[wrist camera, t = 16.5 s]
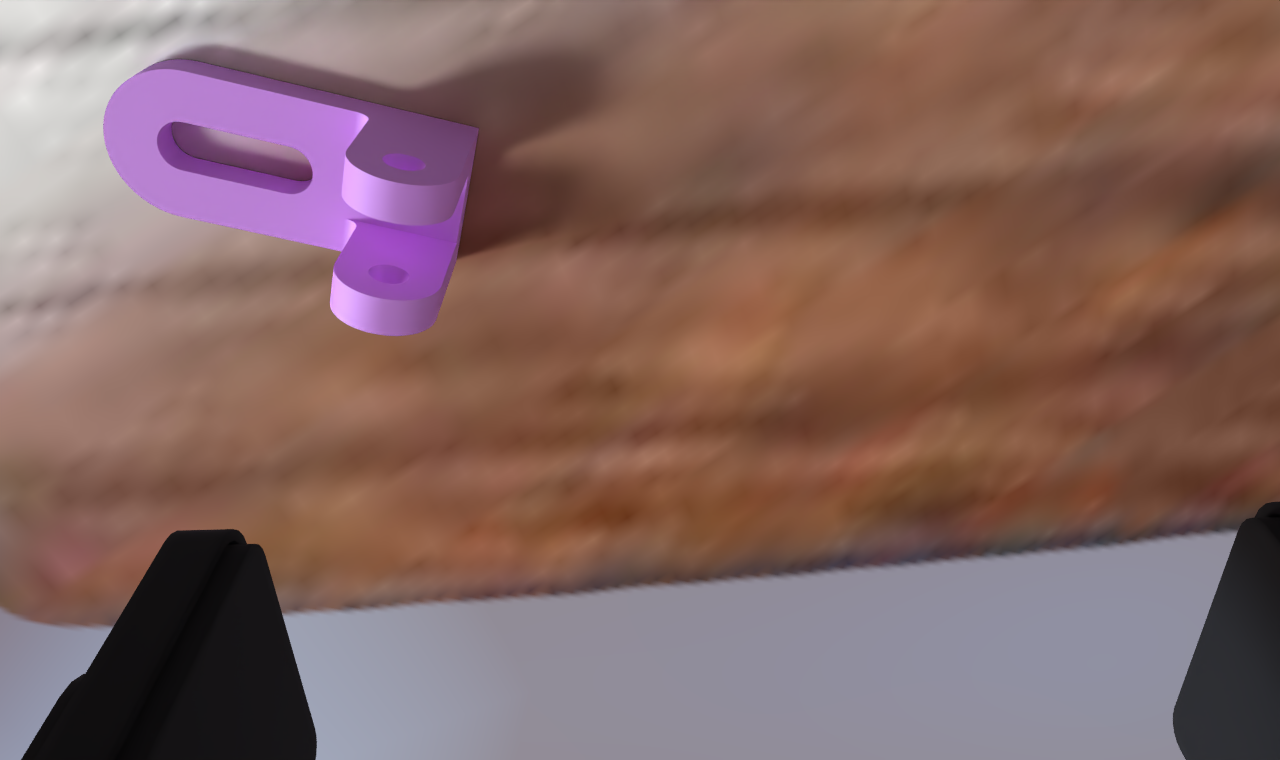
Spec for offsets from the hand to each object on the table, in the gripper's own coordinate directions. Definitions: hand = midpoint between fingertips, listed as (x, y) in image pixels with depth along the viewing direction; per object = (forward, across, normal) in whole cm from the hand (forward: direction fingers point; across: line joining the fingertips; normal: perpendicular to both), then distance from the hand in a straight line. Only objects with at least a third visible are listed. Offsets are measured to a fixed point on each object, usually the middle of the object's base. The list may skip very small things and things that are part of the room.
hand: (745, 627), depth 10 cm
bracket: (+30, +14, +5) cm, 34 cm away
